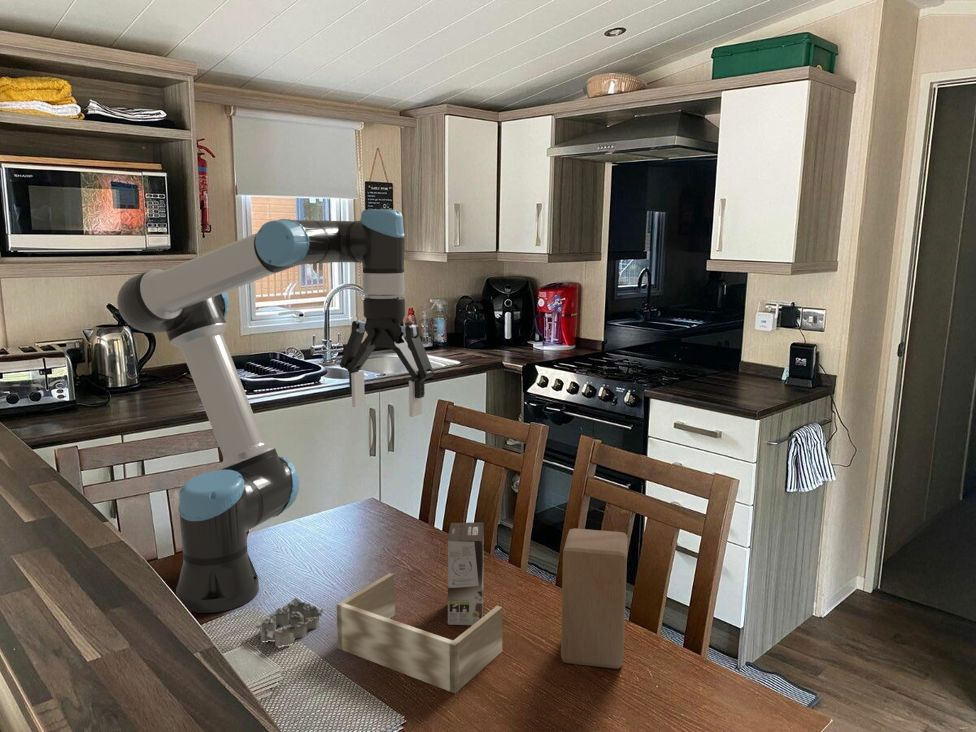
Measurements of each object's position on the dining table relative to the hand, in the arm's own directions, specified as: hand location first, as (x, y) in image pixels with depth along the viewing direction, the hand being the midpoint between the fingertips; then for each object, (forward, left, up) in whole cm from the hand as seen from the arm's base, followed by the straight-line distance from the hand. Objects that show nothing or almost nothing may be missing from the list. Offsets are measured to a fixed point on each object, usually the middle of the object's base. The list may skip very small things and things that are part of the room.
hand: (386, 410), depth 141 cm
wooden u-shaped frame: (+17, -13, -37) cm, 42 cm away
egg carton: (-6, -20, -37) cm, 43 cm away
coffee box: (+17, +1, -37) cm, 41 cm away
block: (+42, +2, -37) cm, 56 cm away
